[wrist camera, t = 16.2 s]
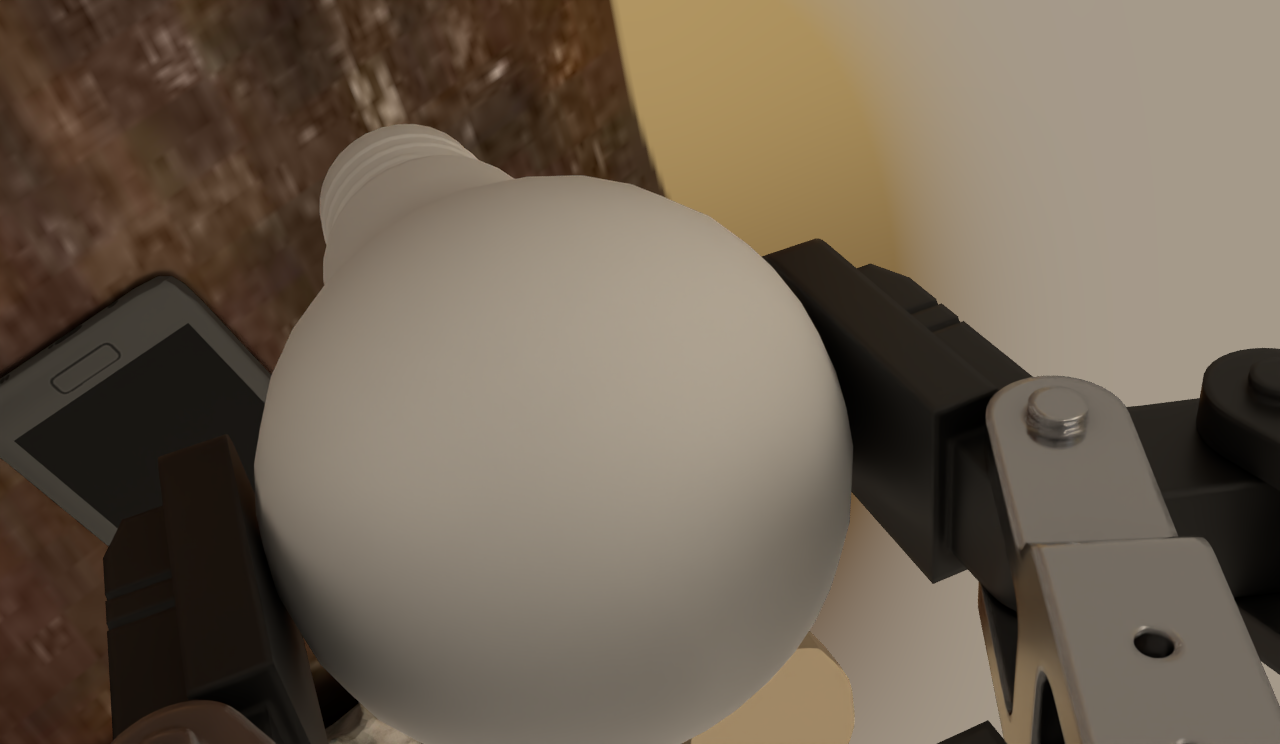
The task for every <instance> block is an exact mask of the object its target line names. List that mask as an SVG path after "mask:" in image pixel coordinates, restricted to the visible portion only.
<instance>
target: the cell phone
mask: <svg viewBox="0 0 1280 744" xmlns="http://www.w3.org/2000/svg"><path fill="white" fill-rule="evenodd" d="M271 376H272V375H271V374H270V373H269V372H268V371H267V370H266V369H265V368H264V367H263V366H262V364H261V363H260V362H259V361H258V360H257V359H256V358H255V357H254V356H253V355H252V354H251V353H250V352H249V351H248V349H247V348H246V347H245V346H244V345H243V344H242V343H241V342H240V341H239V340H238V339H237V338H236V337H235V335H234V334H233V333H232V332H231V331H230V330H229V329H228V328H227V327H226V326H225V325H224V324H223V323H222V322H221V320H220V319H219V318H218V317H217V316H216V315H215V314H214V313H213V312H212V311H211V310H210V309H209V308H208V306H207V305H206V304H205V303H204V302H203V301H202V300H201V299H200V298H199V297H198V296H197V295H195V294H194V293H193V292H192V291H191V290H190V289H189V288H188V287H187V286H186V285H185V284H184V283H182V282H181V281H179V280H177V279H176V278H174V277H173V276H158V277H156V278H154V279H152V280H150V281H148V282H146V283H144V284H142V285H140V286H138V287H136V288H134V289H133V290H131V291H130V292H128V293H127V294H125V295H124V296H123V297H121V298H120V299H118V300H117V301H115V302H114V303H112V304H111V305H109V306H108V307H106V308H105V309H103V310H102V311H100V312H99V313H97V314H96V315H94V316H93V317H91V318H90V319H88V320H87V321H85V322H84V323H82V324H81V325H79V326H78V327H76V328H75V329H74V330H72V331H71V332H69V333H68V334H66V335H65V336H63V337H62V338H60V339H59V340H57V341H56V342H54V343H53V344H51V345H50V346H48V347H47V348H45V349H44V350H42V351H41V352H39V353H38V354H36V355H35V356H33V357H32V358H30V359H29V360H27V361H26V362H25V363H23V364H22V365H20V366H19V367H17V368H16V369H14V370H13V371H11V372H10V373H8V374H7V375H5V376H4V377H2V378H1V379H0V458H2V459H3V460H4V461H5V462H7V463H8V464H9V465H10V466H11V467H13V468H14V469H15V470H16V471H17V472H19V473H20V474H21V475H22V476H24V477H25V478H26V479H27V480H28V481H30V482H31V483H32V484H33V485H35V486H36V487H37V488H38V489H39V490H41V491H42V492H43V493H44V494H45V495H47V496H48V497H49V498H50V499H52V500H53V501H54V502H55V503H56V504H58V505H59V506H60V507H61V508H63V509H64V510H65V511H66V512H67V513H69V514H70V515H71V516H72V517H73V518H75V519H76V520H77V521H78V522H80V523H81V524H82V525H83V526H84V527H86V528H87V529H88V530H89V531H90V532H92V533H93V534H94V535H95V536H97V537H98V538H99V539H100V540H101V541H103V542H104V543H105V544H106V545H108V546H109V545H110V543H111V541H112V539H113V537H114V535H115V533H116V531H117V529H118V527H119V525H120V523H121V521H122V519H125V518H128V517H131V516H134V515H137V514H140V513H143V512H146V511H149V510H151V509H154V508H157V507H160V506H163V501H162V493H161V485H160V477H159V469H158V457H160V456H163V455H166V454H169V453H172V452H175V451H178V450H181V449H184V448H187V447H190V446H193V445H196V444H199V443H202V442H205V441H208V440H211V439H214V438H217V437H219V436H222V435H225V434H228V435H229V437H230V438H231V440H232V442H233V444H234V446H235V449H236V451H237V453H238V456H239V458H240V460H241V463H242V465H243V467H244V470H245V472H246V475H247V477H248V479H249V482H250V484H251V486H252V489H253V491H254V494H255V477H254V461H255V455H256V449H257V443H258V437H259V431H260V425H261V421H262V416H263V411H264V407H265V402H266V397H267V392H268V388H269V383H270V378H271Z"/></svg>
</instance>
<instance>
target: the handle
mask: <svg viewBox="0 0 1280 744" xmlns="http://www.w3.org/2000/svg"><path fill="white" fill-rule="evenodd" d="M853 728H854V705H853V695H852V689H851V685H850V681H849V679H848V677H847V676H846V674H845V673H844V671H843V670H842V668H841V667H840V665H839V664H838V662H837V661H836V660H835V659H834V657H833V656H832V655H831V654H830V653H829V651H828V650H827V649H826V647H825V646H824V645H823V644H822V643H821V642H820V641H819V640H818V639H817V638H816V637H815V636H814V635H813V634H812V633H811V632H810V631H809V632H808V633H807V635H806V636H805V638H804V639H803V641H802V642H801V644H800V645H799V647H798V648H797V650H796V651H795V653H794V654H793V655H792V656H791V657H790V658H789V659H788V661H787V662H786V663H785V664H784V665H783V666H782V667H781V668H780V670H779V671H778V672H777V673H776V674H775V675H774V676H773V677H772V679H771V680H770V681H769V682H768V683H767V684H765V685H764V686H763V687H762V688H761V689H760V690H759V691H757V692H756V693H755V694H754V695H753V696H752V697H751V698H749V699H748V700H747V701H746V702H745V703H744V704H743V705H742V706H740V707H739V708H738V709H737V710H736V711H734V712H733V713H732V714H730V715H729V716H727V717H726V718H724V719H723V720H721V721H720V722H718V723H717V724H715V725H714V726H713V727H711V728H710V729H708V730H707V731H705V732H703V733H701V734H699V735H697V736H695V737H693V738H691V739H689V740H687V741H686V742H684V743H682V744H849V741H850V738H851V735H852V732H853Z"/></svg>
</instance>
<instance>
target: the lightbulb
mask: <svg viewBox="0 0 1280 744" xmlns="http://www.w3.org/2000/svg"><path fill="white" fill-rule="evenodd" d="M320 217H321V222H322V229H323V234H324V238H325V242H326V244H327V246H326V251H325V255H324V260H323V281H324V287H323V288H322V289H321V291H320V292H319V294H318V295H317V296H316V298H315V299H314V300H313V302H312V303H311V305H310V306H309V307H308V309H307V310H306V311H305V313H304V314H303V316H302V317H301V318H300V320H299V321H298V322H297V324H296V325H295V327H294V328H293V330H292V332H291V334H290V336H289V338H288V340H287V343H286V345H285V347H284V349H283V351H282V354H281V356H280V358H279V360H278V362H277V365H276V367H275V369H274V371H273V373H272V376H271V378H270V383H269V388H268V392H267V397H266V402H265V407H264V411H263V416H262V421H261V425H260V431H259V437H258V443H257V449H256V455H255V461H254V477H255V508H256V518H257V522H258V527H259V531H260V535H261V540H262V544H263V549H264V552H265V555H266V559H267V562H268V565H269V569H270V572H271V575H272V579H273V582H274V585H275V588H276V591H277V593H278V596H279V598H280V600H281V601H282V603H283V605H284V606H285V608H286V610H287V611H288V613H289V615H290V616H291V618H292V619H293V621H294V623H295V624H296V626H297V628H298V629H299V631H300V633H301V634H302V636H303V637H304V639H305V640H306V642H307V644H308V645H309V647H310V648H311V650H312V652H313V653H314V655H315V656H316V658H317V660H318V661H319V663H320V664H321V665H322V666H323V667H324V668H325V669H326V670H327V671H328V672H329V673H330V674H331V675H332V676H333V677H334V678H335V679H336V680H337V681H338V682H339V683H340V684H341V685H342V686H343V687H344V688H345V689H346V690H347V691H348V692H349V693H350V694H351V695H352V696H353V697H354V698H355V699H356V700H357V701H359V702H360V703H361V704H362V705H363V706H364V707H365V708H366V709H367V710H368V711H369V712H371V713H372V714H373V715H374V716H375V717H376V718H377V719H378V720H379V721H381V722H383V723H385V724H387V725H389V726H390V727H392V728H394V729H396V730H398V731H400V732H402V733H403V734H405V735H407V736H409V737H411V738H413V739H415V740H416V741H418V742H421V743H423V744H682V743H684V742H686V741H687V740H689V739H691V738H693V737H695V736H697V735H699V734H701V733H703V732H705V731H707V730H708V729H710V728H711V727H713V726H714V725H715V724H717V723H718V722H720V721H721V720H723V719H724V718H726V717H727V716H729V715H730V714H732V713H733V712H734V711H736V710H737V709H738V708H739V707H740V706H742V705H743V704H744V703H745V702H746V701H747V700H748V699H749V698H751V697H752V696H753V695H754V694H755V693H756V692H757V691H759V690H760V689H761V688H762V687H763V686H764V685H765V684H767V683H768V682H769V681H770V680H771V679H772V677H773V676H774V675H775V674H776V673H777V672H778V671H779V670H780V668H781V667H782V666H783V665H784V664H785V663H786V662H787V661H788V659H789V658H790V657H791V656H792V655H793V654H794V653H795V651H796V650H797V648H798V647H799V645H800V644H801V642H802V641H803V639H804V638H805V636H806V635H807V633H808V632H809V630H810V629H811V627H812V626H813V624H814V623H815V621H816V619H817V617H818V615H819V612H820V610H821V608H822V606H823V604H824V602H825V600H826V597H827V595H828V593H829V591H830V588H831V586H832V582H833V579H834V576H835V573H836V570H837V566H838V563H839V560H840V556H841V552H842V549H843V545H844V541H845V537H846V533H847V530H848V526H849V522H850V504H851V487H852V465H853V443H852V437H851V431H850V425H849V420H848V414H847V408H846V405H845V401H844V398H843V394H842V391H841V387H840V384H839V380H838V377H837V374H836V371H835V369H834V366H833V364H832V362H831V360H830V357H829V355H828V353H827V351H826V349H825V346H824V344H823V342H822V340H821V338H820V335H819V333H818V331H817V330H816V328H815V326H814V324H813V323H812V321H811V319H810V317H809V316H808V314H807V312H806V310H805V309H804V307H803V305H802V303H801V302H800V300H799V299H798V298H797V297H796V296H795V294H794V293H793V292H792V291H791V289H790V288H789V287H788V286H787V284H786V283H785V282H784V281H783V280H782V278H781V277H780V276H779V275H778V273H777V272H776V271H775V270H774V268H773V267H772V266H771V265H770V264H769V263H767V262H766V261H765V260H764V259H763V258H762V257H761V256H760V255H759V254H758V253H757V252H756V251H754V250H753V249H752V248H751V247H750V246H749V245H748V244H747V243H745V242H744V241H743V240H741V239H740V238H739V237H737V236H736V235H735V234H733V233H732V232H730V231H729V230H728V229H726V228H725V227H724V226H722V225H721V224H720V223H718V222H717V221H715V220H714V219H712V218H711V217H710V216H708V215H705V214H703V213H701V212H698V211H696V210H693V209H691V208H689V207H686V206H684V205H681V204H679V203H677V202H674V201H672V200H670V199H667V198H665V197H662V196H660V195H657V194H655V193H652V192H650V191H647V190H645V189H642V188H639V187H637V186H634V185H632V184H627V183H621V182H616V181H610V180H604V179H599V178H593V177H588V176H582V175H580V176H540V177H524V178H518V179H514V178H512V177H511V176H509V175H508V174H506V173H505V172H503V171H502V170H500V169H499V168H497V167H494V166H492V165H489V164H487V163H484V162H482V161H479V160H478V159H477V158H476V157H475V156H474V155H473V154H472V153H471V152H469V151H468V150H466V149H465V148H464V147H463V146H462V145H461V144H460V143H459V142H458V141H456V140H455V139H453V138H452V137H450V136H449V135H447V134H446V133H444V132H441V131H439V130H436V129H434V128H431V127H427V126H422V125H416V124H397V125H392V126H387V127H382V128H379V129H376V130H374V131H371V132H369V133H367V134H365V135H363V136H362V137H360V138H358V139H357V140H355V141H354V142H352V143H351V144H350V145H349V146H348V147H347V148H346V149H344V150H343V151H342V152H341V153H340V154H339V155H338V157H337V158H336V160H335V161H334V162H333V164H332V165H331V167H330V168H329V170H328V173H327V175H326V177H325V179H324V182H323V185H322V190H321V194H320Z"/></svg>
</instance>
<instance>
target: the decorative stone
mask: <svg viewBox="0 0 1280 744" xmlns="http://www.w3.org/2000/svg"><path fill="white" fill-rule="evenodd" d="M325 732H326V736H327V740H328V744H423V743H421V742H418V741H416V740H415V739H413V738H411V737H409V736H407V735H405V734H403V733H402V732H400V731H398V730H396V729H394V728H392V727H390V726H389V725H387V724H385V723H383V722H381V721H379V720H378V719H377V718H376V717H375V716H374V715H373V714H372V713H371V712H369V711H368V710H367V709H366V708H365V707H364V706H363V705H362V704H361V703H360V702H359V704H357V705H356V706H355V707H354V708H352V709H351V710H350V711H349V712H347V713H346V714H345V715H344V716H342V717H341V718H340V719H339V720H338V721H336V722H335V723H334V724H333V725H331V726H329V727H328V728H326V729H325Z"/></svg>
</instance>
